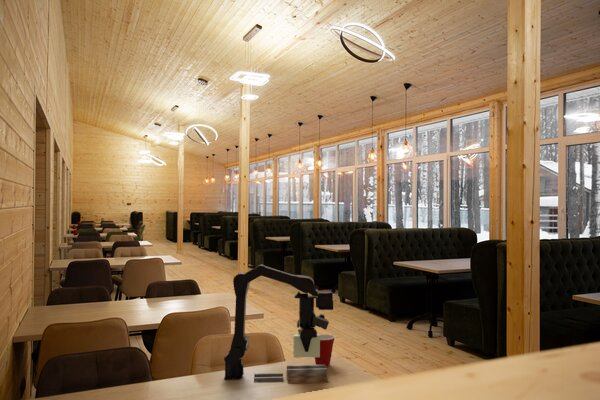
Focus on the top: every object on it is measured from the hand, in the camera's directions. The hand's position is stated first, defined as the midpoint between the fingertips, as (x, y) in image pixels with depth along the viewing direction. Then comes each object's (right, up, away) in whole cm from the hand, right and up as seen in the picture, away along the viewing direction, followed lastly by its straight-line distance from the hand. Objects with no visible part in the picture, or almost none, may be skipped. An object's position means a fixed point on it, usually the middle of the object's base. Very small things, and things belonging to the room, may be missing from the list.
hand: (306, 350), depth 173 cm
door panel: (0, -2, 0) cm, 2 cm away
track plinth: (0, -10, 0) cm, 10 cm away
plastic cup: (+7, -11, +15) cm, 20 cm away
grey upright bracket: (-14, -10, -2) cm, 18 cm away
